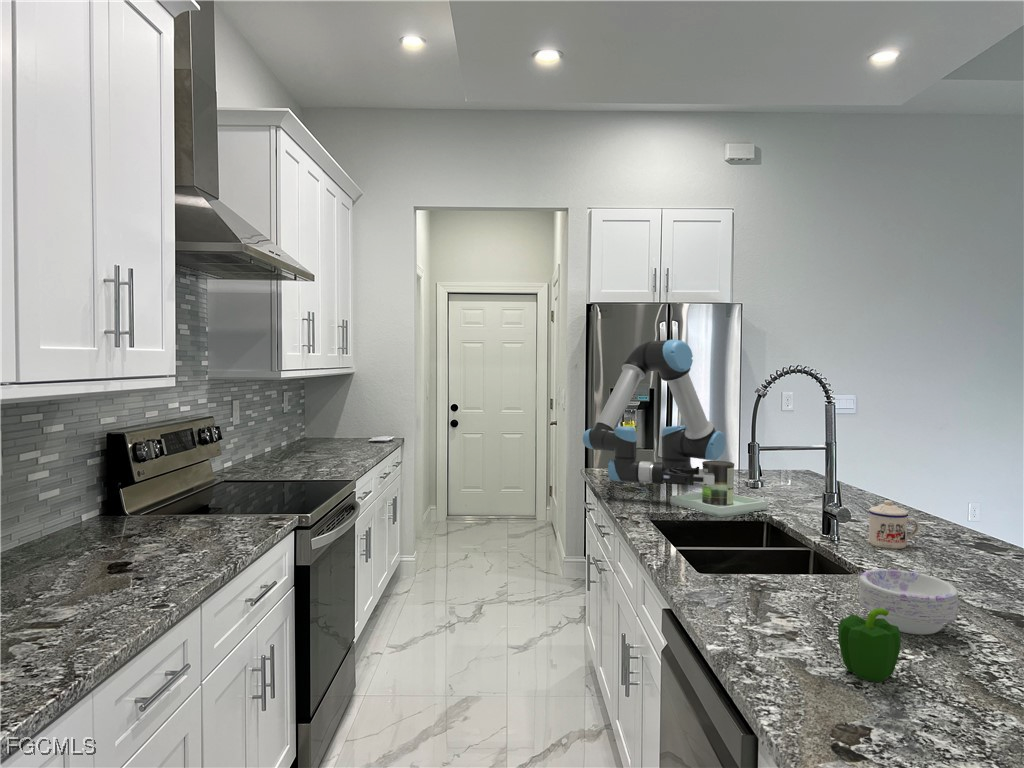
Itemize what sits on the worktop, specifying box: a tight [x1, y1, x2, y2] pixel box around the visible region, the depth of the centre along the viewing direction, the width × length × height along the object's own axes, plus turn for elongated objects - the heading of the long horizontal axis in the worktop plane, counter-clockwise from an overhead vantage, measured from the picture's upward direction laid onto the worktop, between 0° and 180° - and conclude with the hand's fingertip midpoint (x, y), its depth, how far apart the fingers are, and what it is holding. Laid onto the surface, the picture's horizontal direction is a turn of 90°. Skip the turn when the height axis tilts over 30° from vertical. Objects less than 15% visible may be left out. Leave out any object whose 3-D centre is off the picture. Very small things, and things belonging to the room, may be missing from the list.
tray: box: [669, 491, 769, 518], centre depth 218 cm, size 22×22×3 cm
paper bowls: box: [858, 569, 959, 636], centre depth 117 cm, size 15×15×8 cm
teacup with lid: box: [868, 499, 920, 550], centre depth 171 cm, size 12×9×12 cm
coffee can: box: [701, 460, 735, 507], centre depth 218 cm, size 10×10×14 cm
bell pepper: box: [837, 608, 902, 683], centre depth 97 cm, size 8×8×10 cm
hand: (716, 477), depth 218 cm, fingers open, 13 cm apart
